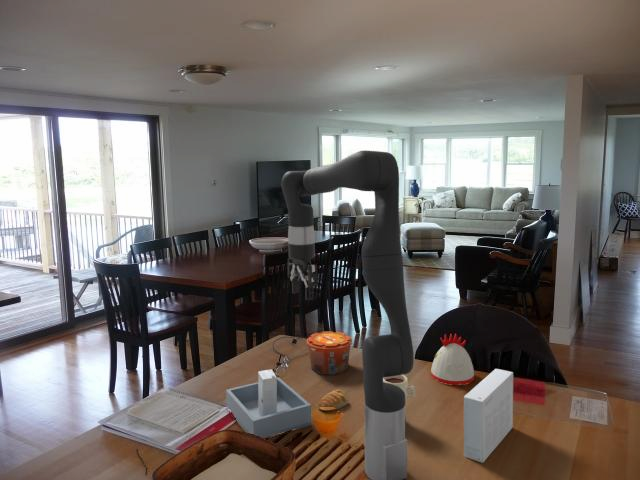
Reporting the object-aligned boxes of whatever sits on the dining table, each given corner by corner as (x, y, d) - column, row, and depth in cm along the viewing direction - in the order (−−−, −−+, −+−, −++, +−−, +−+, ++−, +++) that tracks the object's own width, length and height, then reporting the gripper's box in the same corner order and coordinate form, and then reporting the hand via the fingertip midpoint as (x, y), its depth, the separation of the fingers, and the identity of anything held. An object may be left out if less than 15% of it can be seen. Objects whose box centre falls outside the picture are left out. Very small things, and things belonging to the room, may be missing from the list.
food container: (360, 364, 184) (360, 335, 183) (337, 380, 171) (337, 349, 169) (322, 355, 193) (321, 327, 191) (297, 370, 180) (297, 341, 178)
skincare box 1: (257, 410, 150) (256, 370, 148) (273, 407, 151) (271, 368, 149) (262, 420, 144) (261, 379, 142) (278, 417, 145) (277, 377, 143)
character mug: (373, 426, 142) (373, 382, 140) (376, 414, 149) (376, 371, 147) (413, 431, 139) (414, 385, 137) (414, 418, 146) (415, 374, 144)
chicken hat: (428, 368, 180) (428, 326, 178) (468, 368, 180) (469, 326, 177) (435, 385, 166) (436, 341, 164) (478, 386, 166) (480, 341, 163)
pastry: (330, 415, 149) (329, 403, 148) (312, 408, 153) (312, 396, 152) (350, 403, 156) (350, 391, 155) (332, 397, 160) (332, 385, 159)
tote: (311, 425, 143) (311, 404, 142) (254, 442, 135) (253, 421, 134) (279, 395, 161) (278, 377, 160) (226, 409, 153) (225, 389, 152)
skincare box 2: (493, 421, 144) (495, 367, 141) (513, 428, 140) (516, 372, 138) (461, 455, 128) (463, 395, 125) (482, 464, 124) (485, 402, 122)
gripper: (325, 243, 144) (326, 300, 146) (301, 236, 156) (302, 289, 159) (301, 246, 140) (302, 304, 143) (278, 239, 152) (280, 292, 155)
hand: (302, 296), depth 151 cm, fingers open, 8 cm apart
